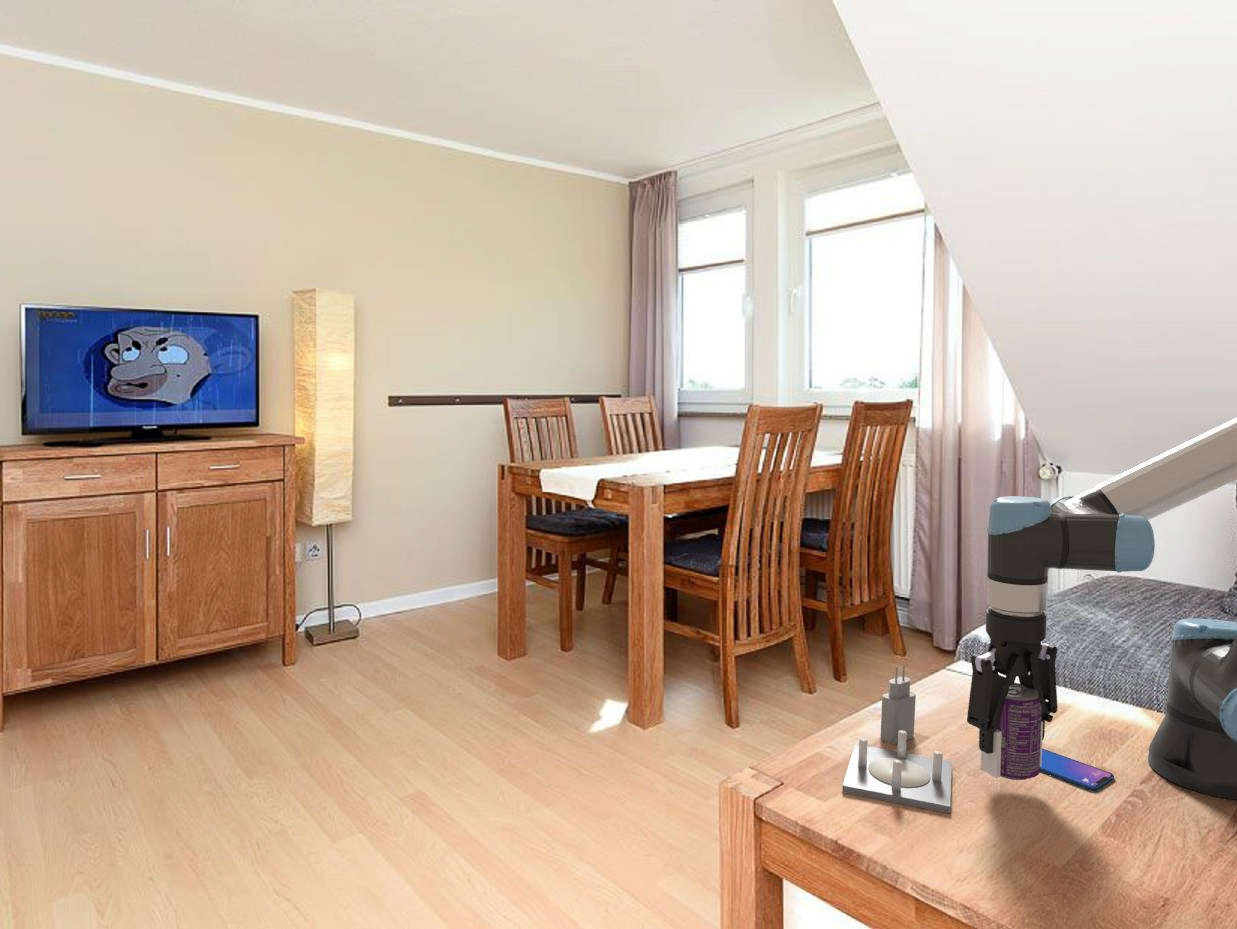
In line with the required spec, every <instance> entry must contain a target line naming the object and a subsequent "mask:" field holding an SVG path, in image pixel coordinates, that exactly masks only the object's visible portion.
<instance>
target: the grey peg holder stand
mask: <svg viewBox="0 0 1237 929" xmlns="http://www.w3.org/2000/svg"><path fill="white" fill-rule="evenodd" d="M906 740H907V732H906V731H902V730H900V731H898V744H897V750H893V749H886V748H881V747H880V748H879V747H875V746H871V745H870V746H868V743H869V741H868V739H867V738H864V737H861V738H859V739H858V743H855V744H854V745H853V750H852V753H851V756H850V760H849V763H848V766H847V770H846V771H845V777H844V779H843V783H842V788H841V789H842V790H841V791H842V793H846V794H849V795H850V794H851V795H855V796H861V797H865V798H871V799H875V800H881V801H886V802H890V803H894V804H901V805H905V806H909V807H915V808H921V809H926V810H929V811H934V812H941V813H945V814H951V797H952V796H951V795H952V770H953V769H952V766H953V764H952V760H949V759H944V758H943V752H941V751H940V750H939V751H938V750H935V751H933V757H930V756H925V755H921V754H914V753H909V752H907V741H908V740H907V741H906Z"/></svg>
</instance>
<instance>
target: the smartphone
mask: <svg viewBox="0 0 1237 929" xmlns="http://www.w3.org/2000/svg"><path fill="white" fill-rule="evenodd" d="M1042 772H1043V773H1042ZM1039 773H1042V774H1044V773H1045V775H1047V776H1049V775H1051V776H1050V777H1052V778H1055V779H1058V780H1059V781H1062V782H1065V783H1068V784H1070V785H1072V786H1075V787H1077V788H1080V789H1082V790H1086V791H1088V792H1098V791H1100V790H1102V789H1103V788H1105V787H1106V786H1107V785H1109V784H1110V783H1112V782H1113V781H1115V775H1114V774H1113V773H1112V772H1109V771H1107V770H1105V769H1102V768H1099V767H1096V766H1094V765H1090V764H1087V763H1084V762H1082V761H1079V760H1076V759H1073V758H1071V757H1068V756H1065V755H1062V754H1059V753H1056V752H1054V751H1050V750H1048V749H1045V748H1042V766H1040V772H1039Z"/></svg>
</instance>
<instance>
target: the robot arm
mask: <svg viewBox="0 0 1237 929" xmlns="http://www.w3.org/2000/svg"><path fill="white" fill-rule="evenodd" d="M1236 480H1237V416H1236V417H1235V418H1232V419H1230V420H1229V421H1226V422H1224V423H1222V424H1221V425H1219V426H1216V427H1214V428H1212V429H1210V430H1208V431H1206V432H1204V433H1202V434H1200V435H1198V436H1195V437H1194V438H1192V439H1189V440H1188V441H1185V442H1184V443H1181V444H1179V445H1178V446H1176V447H1174V448H1171V449H1169V450H1167V451H1165V452H1163V453H1161V454H1160V455H1157V456H1155V457H1152V458H1151V459H1148V460H1147V461H1144V462H1143V463H1140V464H1138V465H1137V466H1135V467H1133V468H1130V469H1128V470H1127V471H1124V472H1122V473H1120V474H1118V475H1116V476H1114V477H1112V478H1110V479H1108V480H1106V481H1104V482H1102V483H1100V484H1097V485H1095V486H1094V487H1091V488H1090V489H1087V490H1085V491H1082V492H1081V493H1078V494H1076V495H1072V496H1071V495H1068V496H1060V497H1057V498H1055V499H1053V500H1051V501H1050V502H1049V501H1048V500H1047V499H1045V498H1041V497H1036V496H1035V497H1034V496H1024V495H1022V496H1021V495H1020V496H1019V495H1016V496H1015V495H1011V496H1009V495H1008V496H1000V497H997V498H995V499H994V500H993V501H992V502H991V503H990V505H989V518H988V525H987V526H988V527H987V572H986V573H987V575H986V576H987V581H986V604H987V605H988V607H987V608H986V610H985V632H986V634H987V636H988V637H989V640H990V642H989V646H988V648H987V650H986V651H987V652H986V653H984V654H981V655H979V654H976V653H974V654H972V655H971V656H970V663H971V669H972V675H971V682H970V683H971V684H970V691H969V697H968V706H967V707H968V708H967V709H968V710H967V716H966V722H967V723H968V724H969V725H971V726H973V727H975V728H978V729H979V731H978V732H979V733H978V734H979V735H978V748H979V751H980V770H981V771H983V772H984V773H986V774H988V775H991V776H992V777H993V778H995V779H999V778H1001V776H1000V771H1001V737H1002V732H1001V731H999V730H997V727H998V723H999V720H1000V717H1001V714H1002V709H1003V707H1004V704H1005V700H1006V699H1005V696H1007V694H1008V691H1009V687H1010V686H1011V685H1013V684H1014V682H1015V681H1016V678H1017V677H1018V681H1019V682H1018V683H1020V684H1022V685H1024V686H1025V687H1027V688H1029V689H1034V690H1037V691H1038V699H1039V701H1040V703H1041V706H1042V713H1041V744H1040V766H1042V749H1043V741H1044V739H1045V729H1046V728H1045V727H1046V722H1047V723H1051V722H1052V721H1053V719H1054V716H1053V715H1051V714H1056V713H1057V712H1058V694H1057V693H1058V692H1057V689H1058V688H1057V677H1056V676H1057V675H1056V660H1057V655H1058V648H1057V646H1056V645H1053V644H1049V643H1046V642H1043V641H1044V640H1045V639H1046V637H1047V614H1046V613H1045V611H1046V610H1048V594H1049V591H1048V590H1049V586H1048V585H1049V584H1048V583H1049V579H1048V578H1049V570H1050V569H1057V570H1083V571H1099V572H1100V571H1101V572H1102V571H1104V572H1116V573H1119V574H1120V573H1124V572H1126V573H1127V572H1144V571H1145V570H1147V569H1148V568H1149V567H1150V566H1151V565H1152V562H1153V559H1154V556H1155V548H1156V547H1155V546H1156V545H1155V544H1156V543H1155V542H1156V540H1155V535H1154V534H1155V533H1154V528H1153V526H1152V524H1151V522H1150V521H1151V520H1152V519H1154V518H1157V517H1158V516H1161V515H1163V514H1165V513H1167V512H1169V511H1172V510H1174V509H1176V508H1177V507H1181V506H1182V505H1184V504H1186V503H1189V502H1190V501H1191V502H1192V501H1194V500H1195V499H1198V498H1199V497H1202V496H1204V495H1207V494H1208V493H1210V492H1213V491H1215V490H1217V489H1219V488H1221V487H1224V486H1227V485H1229V484H1230V483H1232V482H1235V481H1236ZM1171 636H1172V637H1171V638H1170V640H1169V641H1170V643H1171V644H1170V645H1171V647H1170V659H1169V669H1168V670H1169V671H1168V681H1167V682H1168V683H1167V684H1168V685H1167V696H1166V697H1167V698H1166V709H1165V710H1166V711H1165V715H1164V717H1163V719H1162V721H1161V722H1160V725H1159V727H1158V728H1157V730H1156V732H1155V733H1154V736H1153V738H1152V740H1151V741H1150V743H1149V746H1148V756H1147V762H1148V764H1149V766H1150V767H1151V769H1152V770H1154V771H1155V772H1156V773H1157V774H1159V775H1160V776H1161V777H1163V778H1165V779H1167V780H1169V781H1170V782H1172V783H1175V784H1177V785H1180V786H1182V787H1184V788H1187V789H1189V790H1192V791H1195V792H1199V793H1201V794H1204V795H1205V794H1206V795H1210V796H1213V797H1217V798H1218V797H1219V798H1223V799H1230V800H1237V621H1231V620H1225V619H1224V620H1223V619H1222V620H1221V619H1214V618H1213V619H1212V618H1211V619H1210V618H1192V617H1191V618H1183V619H1180V620H1178V621H1177V622H1176V623H1175V624H1174V626H1173V631H1172V635H1171ZM1003 675H1004V676H1003ZM1015 683H1016V682H1015ZM988 719H989V721H988Z"/></svg>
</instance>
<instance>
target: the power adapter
mask: <svg viewBox="0 0 1237 929" xmlns="http://www.w3.org/2000/svg"><path fill="white" fill-rule="evenodd" d="M905 667H906V666H905V664H902V676H898V666H896V667H895V673H894V674H895V675H894V676H895V677H894V678H891V679H889V680H888V692H887V693H884V694H882V695H881V696H882V698H881V717H880V719H881V720H880V740H882V741H884V742H886V743H889V744H890V745H898V731H900V730H902V731H906V732H907V740H906V742H907V741H909V740H911V739H913V738H914V737H915V715H916V698H917V694H916V693H915V692H912V691H910V690H911V679H910V678H909V677H907V676H905V672H906V670H905V669H906V668H905Z"/></svg>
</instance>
